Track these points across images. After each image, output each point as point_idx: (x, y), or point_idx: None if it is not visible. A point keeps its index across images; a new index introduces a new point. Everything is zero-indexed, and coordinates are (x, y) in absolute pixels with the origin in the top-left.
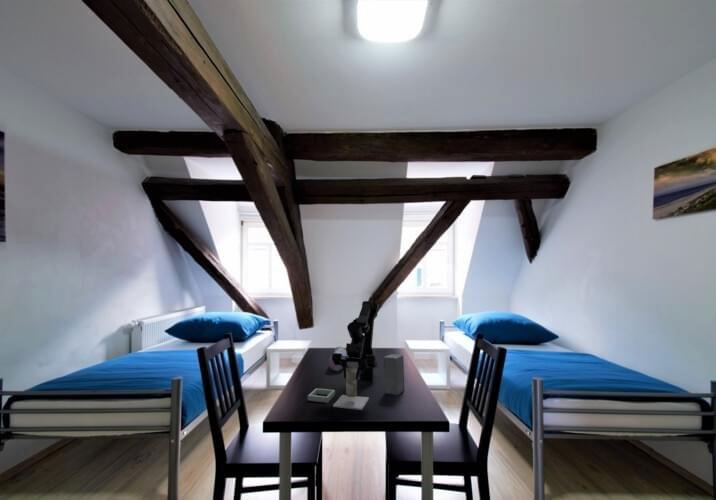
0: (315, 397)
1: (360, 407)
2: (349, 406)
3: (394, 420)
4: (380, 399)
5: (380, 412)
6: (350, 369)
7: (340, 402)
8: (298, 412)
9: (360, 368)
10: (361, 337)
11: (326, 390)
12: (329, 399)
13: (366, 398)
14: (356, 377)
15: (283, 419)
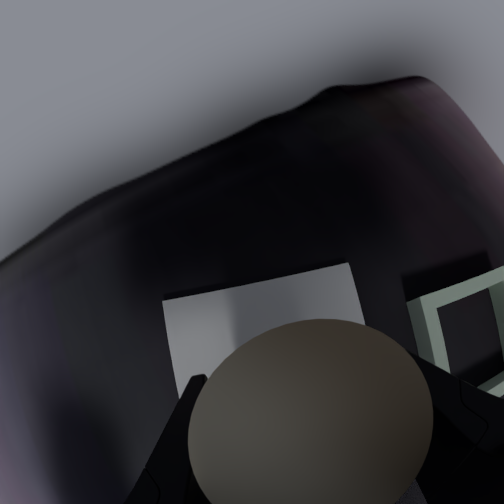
0: (475, 277)
1: (176, 314)
2: (248, 298)
3: (13, 261)
4: None
5: (70, 315)
6: (289, 349)
7: None
8: (428, 148)
9: (130, 499)
10: None
11: None
12: (417, 329)
13: None
14: (194, 383)
15: (415, 93)
